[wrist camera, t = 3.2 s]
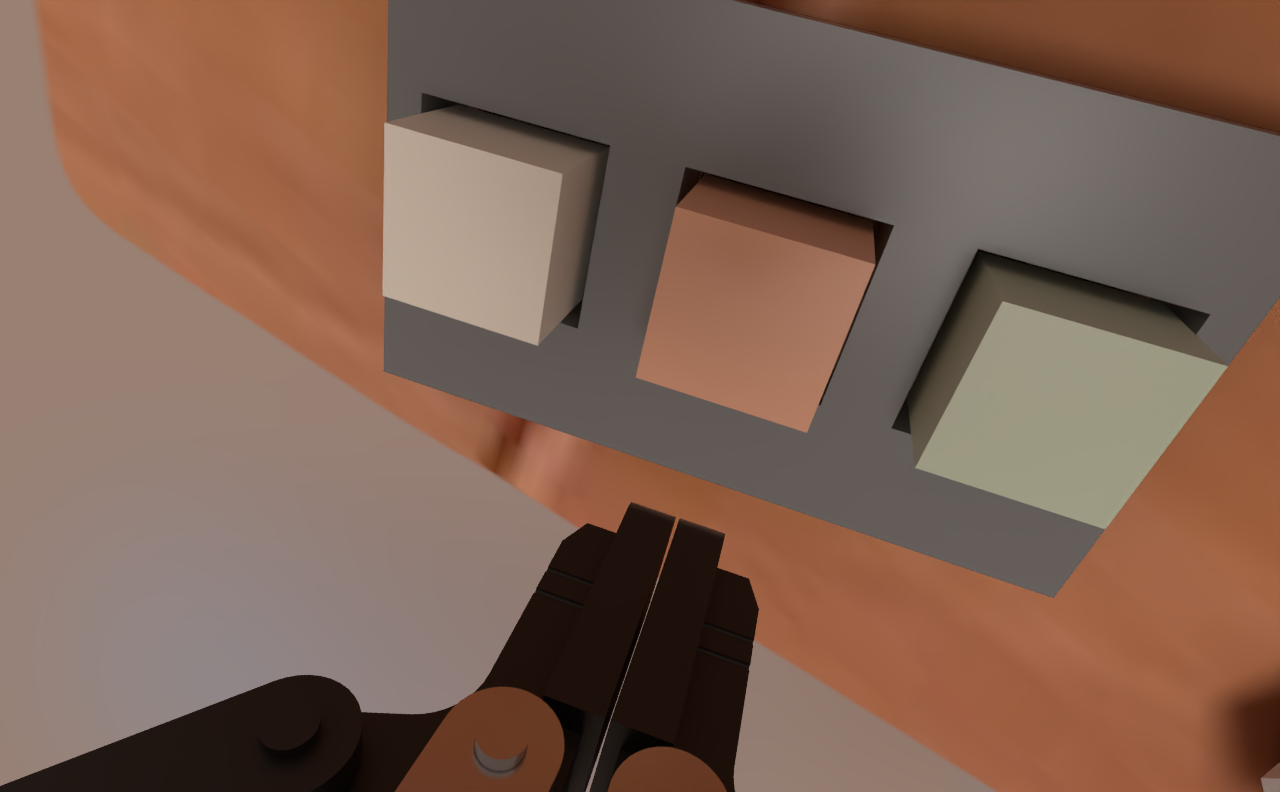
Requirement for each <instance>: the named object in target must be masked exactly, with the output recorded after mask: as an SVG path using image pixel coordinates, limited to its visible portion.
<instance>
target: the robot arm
mask: <svg viewBox="0 0 1280 792" xmlns="http://www.w3.org/2000/svg"><path fill="white" fill-rule="evenodd" d="M675 518H676V517H674V516H671V515H668V514H665V513H662V512H659V511H656V510H653V509H650V508H647V507H644V506H641V505H638V504H635V503H632V502H631V503H630V505H629V507H628V509H627V511H626V513H625V515H624V518H623V520H622V522H621V524H620V526H619V529H618V531H617V533H614V532H611V531H609V530H606V529H603V528H600V527H597V526H594V525H591V524H588V523H587V524H586V525H584V526H583V527H581V528H580V529H578V530H577V531H576V532H574V533H573V534H571V535H570V536H568V537H567V538H566V539H564V540H563V541H562V542H561V544H560V546H559V548H558V550H557V552H556V553H555V555H554V557H553V559H552V561H551V563H550V564H549V566H548V569H547V572H545V574H544V575H543V577H542V579H541V581H540V583H539V584H538V586H537V589H536V591H535V593H534V594H533V595H532V597H531V599H530V601H529V603H528V604H527V606H526V608H525V610H524V612H523V614H522V615H521V617H520V619H519V621H518V623H517V624H516V626H515V628H514V630H513V632H512V634H511V635H510V637H509V639H508V641H507V643H506V644H505V646H504V648H503V650H502V652H501V654H500V655H499V657H498V659H497V661H496V663H495V664H494V666H493V668H492V670H491V672H490V674H489V675H488V677H487V678H486V680H485V681H484V683H483V684H482V685H481V686H480V687H479V688H478V689H477V690H476V691H475V692H474V693H473V694H471V695H469V696H467V697H466V698H464V699H463V700H461V701H460V702H459V703H458V704H456V705H454V706H452V707H449V708H447V709H444V710H441V711H437V712H433V713H426V714H390V713H367V712H361V710H360V706H359V703H358V701H357V700H356V698H355V696H354V695H353V694H352V693H351V692H350V690H349V689H348V688H346V687H345V686H343V685H342V684H341V683H339V682H336V681H334V680H332V679H330V678H326V677H322V676H315V675H297V676H292V677H286V678H283V679H280V680H277V681H273V682H271V683H268V684H266V685H263V686H260V687H257V688H255V689H252V690H250V691H247V692H245V693H242V694H239V695H237V696H234V697H231V698H229V699H226V700H224V701H221V702H218V703H216V704H213V705H211V706H208V707H206V708H203V709H200V710H197V711H195V712H192V713H190V714H187V715H184V716H182V717H179V718H177V719H174V720H172V721H169V722H166V723H164V724H161V725H158V726H156V727H153V728H150V729H148V730H145V731H143V732H140V733H137V734H135V735H132V736H130V737H127V738H124V739H122V740H119V741H117V742H114V743H111V744H109V745H106V746H104V747H101V748H98V749H96V750H93V751H91V752H88V753H85V754H83V755H80V756H77V757H75V758H72V759H70V760H67V761H65V762H62V763H59V764H57V765H54V766H51V767H49V768H46V769H43V770H41V771H38V772H36V773H33V774H30V775H28V776H25V777H23V778H20V779H18V780H15V781H12V782H10V783H7V784H4V785H2V786H0V792H586V788H587V786H588V783H589V779H590V777H591V774H592V771H593V768H594V765H595V762H596V759H597V756H598V753H599V751H600V748H601V745H602V742H603V739H604V736H605V733H606V730H607V727H608V724H609V721H610V718H611V715H612V712H613V709H614V707H615V704H616V701H617V698H618V695H619V692H620V689H621V686H622V683H623V681H624V683H623V686H622V689H621V692H620V695H619V698H618V701H617V704H616V707H615V710H614V713H613V716H612V719H611V722H610V725H609V728H608V732H607V735H606V738H605V742H604V745H603V748H602V752H601V755H600V758H599V762H598V765H597V768H596V772H595V775H594V779H593V782H592V785H591V788H590V792H735V789H734V778H733V776H734V765H735V758H736V752H737V746H738V739H739V732H740V726H741V720H742V714H743V707H744V700H745V694H746V688H747V681H748V675H749V666H750V662H751V656H752V648H753V641H754V636H755V630H756V623H757V617H758V611H759V608H758V605H757V602H756V599H755V596H754V593H753V590H752V587H751V584H750V580H749V579H748V578H745V577H742V576H740V575H737V574H734V573H731V572H728V571H725V570H722V569H719V568H717V566H718V562H719V558H720V554H721V550H722V545H723V541H724V537H725V534H724V533H721V532H719V531H716V530H713V529H710V528H707V527H704V526H701V525H698V524H695V523H692V522H689V521H686V520H683V519H679V522H678V525H677V528H676V531H675V534H674V537H673V539H672V542H671V545H670V548H669V551H668V554H667V557H666V560H665V563H664V566H663V569H662V572H661V575H660V578H659V581H658V584H657V586H656V589H655V593H654V595H653V598H652V601H651V604H650V600H651V597H652V594H653V591H654V588H655V585H656V581H657V578H658V575H659V571H660V568H661V565H662V562H663V558H664V555H665V552H666V548H667V545H668V542H669V539H670V535H671V532H672V529H673V525H674V522H675ZM649 604H650V607H649ZM648 607H649V610H648ZM647 610H648V613H647ZM646 613H647V616H646ZM645 616H646V619H645ZM644 619H645V622H644ZM643 622H644V625H643ZM642 625H643V628H642ZM641 628H642V631H641ZM640 631H641V633H640ZM639 634H640V636H639ZM638 637H639V639H638ZM637 640H638V642H637ZM636 642H637V645H636ZM635 645H636V648H635ZM634 648H635V651H634ZM633 651H634V654H633ZM632 654H633V657H632ZM631 657H632V660H631ZM630 660H631V663H630ZM629 663H630V666H629ZM628 666H629V669H628V672H627V668H628ZM626 672H627V675H626ZM625 675H626V677H625ZM624 678H625V680H624Z"/></svg>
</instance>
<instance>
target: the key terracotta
mask: <svg viewBox="0 0 1280 792" xmlns="http://www.w3.org/2000/svg"><path fill="white" fill-rule="evenodd" d="M874 267H875V248H874V232H873V221H871V220H867V219H864V218H860V217H856V216H853V215H849V214H846V213H842V212H839V211H835V210H832V209H828V208H824V207H821V206H817V205H814V204H810V203H807V202H803V201H800V200H796V199H793V198H789V197H785V196H782V195H778V194H775V193H771V192H768V191H764V190H761V189H757V188H753V187H750V186H746V185H743V184H739V183H736V182H732V181H729V180H725V179H721V178H718V177H714V176H711V175H707V174H705V176H704V177H703V178H702V179H701V180H700V181H699V182H698V183H697V184H696V185H695V186H694V187H693V189H692V190H691V191H690V192H689V193H688V194H687V195H686V196H685V197H684V198H683V199H682V200H681V202H680V203H679V204H678V205H677V206H676V208H675V212H674V216H673V221H672V225H671V229H670V233H669V238H668V242H667V246H666V250H665V255H664V259H663V263H662V267H661V272H660V276H659V280H658V284H657V289H656V293H655V297H654V301H653V306H652V310H651V314H650V318H649V323H648V327H647V331H646V335H645V340H644V344H643V348H642V352H641V357H640V361H639V365H638V369H637V374H636V378H639V379H642V380H645V381H648V382H651V383H654V384H657V385H660V386H664V387H667V388H670V389H673V390H676V391H679V392H682V393H685V394H688V395H691V396H694V397H698V398H701V399H704V400H707V401H710V402H713V403H716V404H719V405H722V406H725V407H728V408H732V409H735V410H738V411H741V412H744V413H747V414H750V415H753V416H756V417H759V418H763V419H766V420H769V421H772V422H775V423H778V424H781V425H784V426H787V427H790V428H793V429H797V430H800V431H803V432H806V433H807V431H808V429H809V427H810V424H811V422H812V419H813V417H814V414H815V412H816V409H817V407H818V404H819V402H820V400H821V397H822V395H823V392H824V390H825V387H826V385H827V382H828V380H829V377H830V375H831V373H832V370H833V368H834V365H835V363H836V360H837V358H838V355H839V353H840V350H841V348H842V346H843V343H844V341H845V338H846V336H847V333H848V331H849V328H850V326H851V323H852V321H853V318H854V316H855V314H856V311H857V309H858V306H859V304H860V301H861V299H862V296H863V294H864V291H865V289H866V287H867V284H868V282H869V279H870V277H871V274H872V272H873V269H874Z"/></svg>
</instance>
